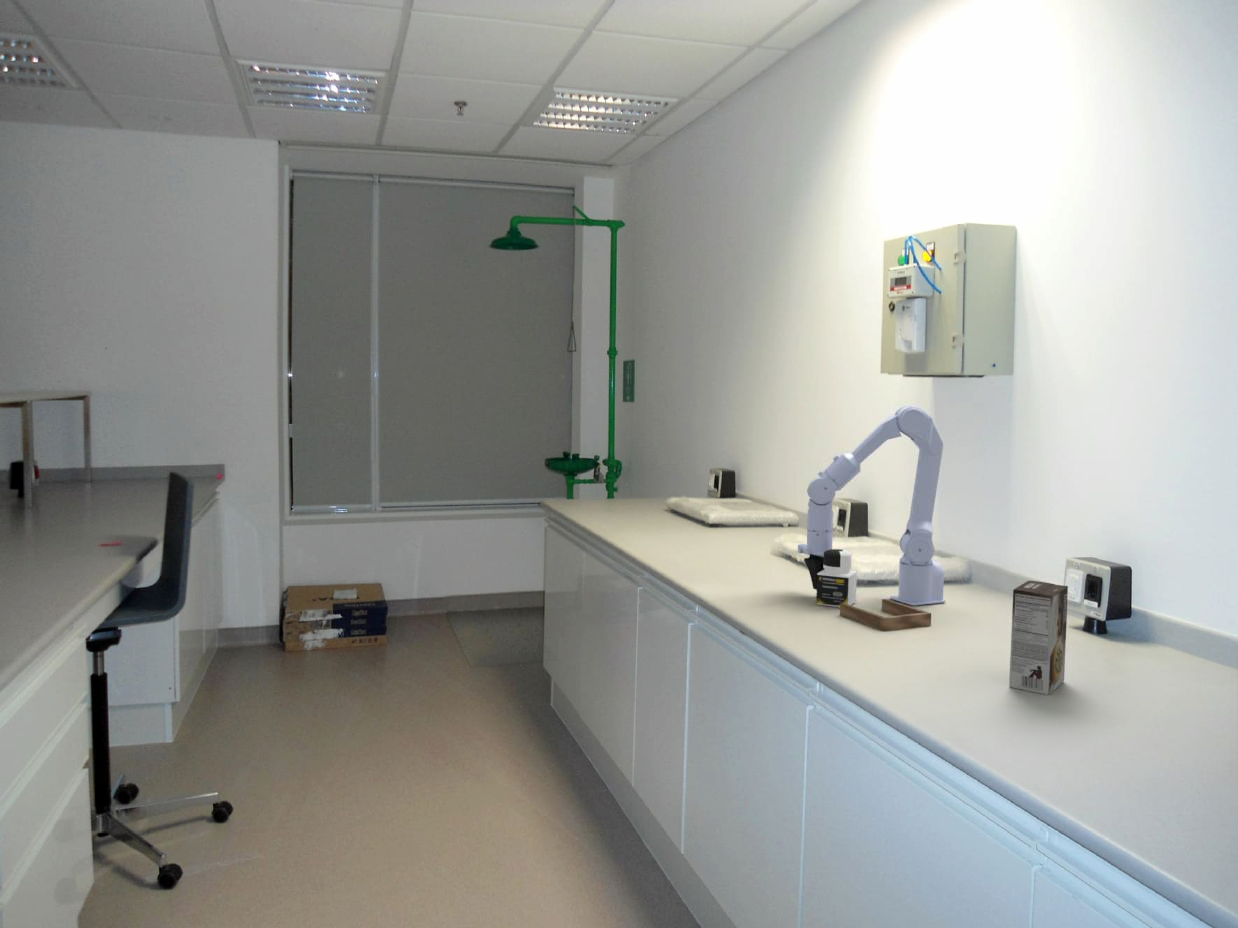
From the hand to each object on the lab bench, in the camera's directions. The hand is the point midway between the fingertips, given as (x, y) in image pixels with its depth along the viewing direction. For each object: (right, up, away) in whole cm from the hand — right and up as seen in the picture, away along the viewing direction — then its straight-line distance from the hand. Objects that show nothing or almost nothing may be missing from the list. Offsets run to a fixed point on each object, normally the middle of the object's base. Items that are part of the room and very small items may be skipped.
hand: (818, 588), depth 213 cm
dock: (+9, -4, -21) cm, 23 cm away
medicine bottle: (+3, -3, -6) cm, 7 cm away
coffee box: (+22, -7, -63) cm, 67 cm away
